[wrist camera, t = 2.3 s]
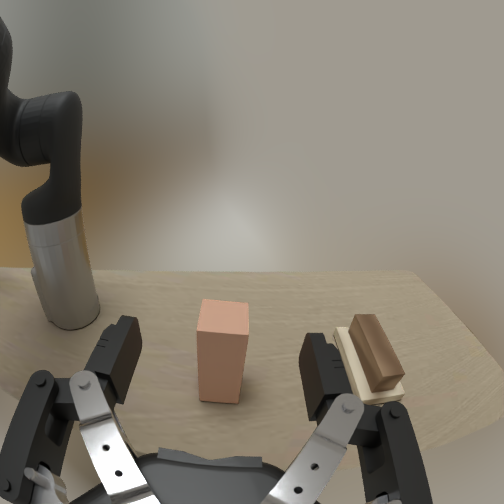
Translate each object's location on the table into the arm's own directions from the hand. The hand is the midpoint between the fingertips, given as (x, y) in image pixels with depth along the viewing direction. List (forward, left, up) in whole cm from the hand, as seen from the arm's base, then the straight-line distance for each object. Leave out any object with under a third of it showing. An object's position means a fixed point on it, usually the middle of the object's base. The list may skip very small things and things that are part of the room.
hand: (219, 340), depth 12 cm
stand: (+23, +10, -19) cm, 32 cm away
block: (+2, +10, -19) cm, 22 cm away
